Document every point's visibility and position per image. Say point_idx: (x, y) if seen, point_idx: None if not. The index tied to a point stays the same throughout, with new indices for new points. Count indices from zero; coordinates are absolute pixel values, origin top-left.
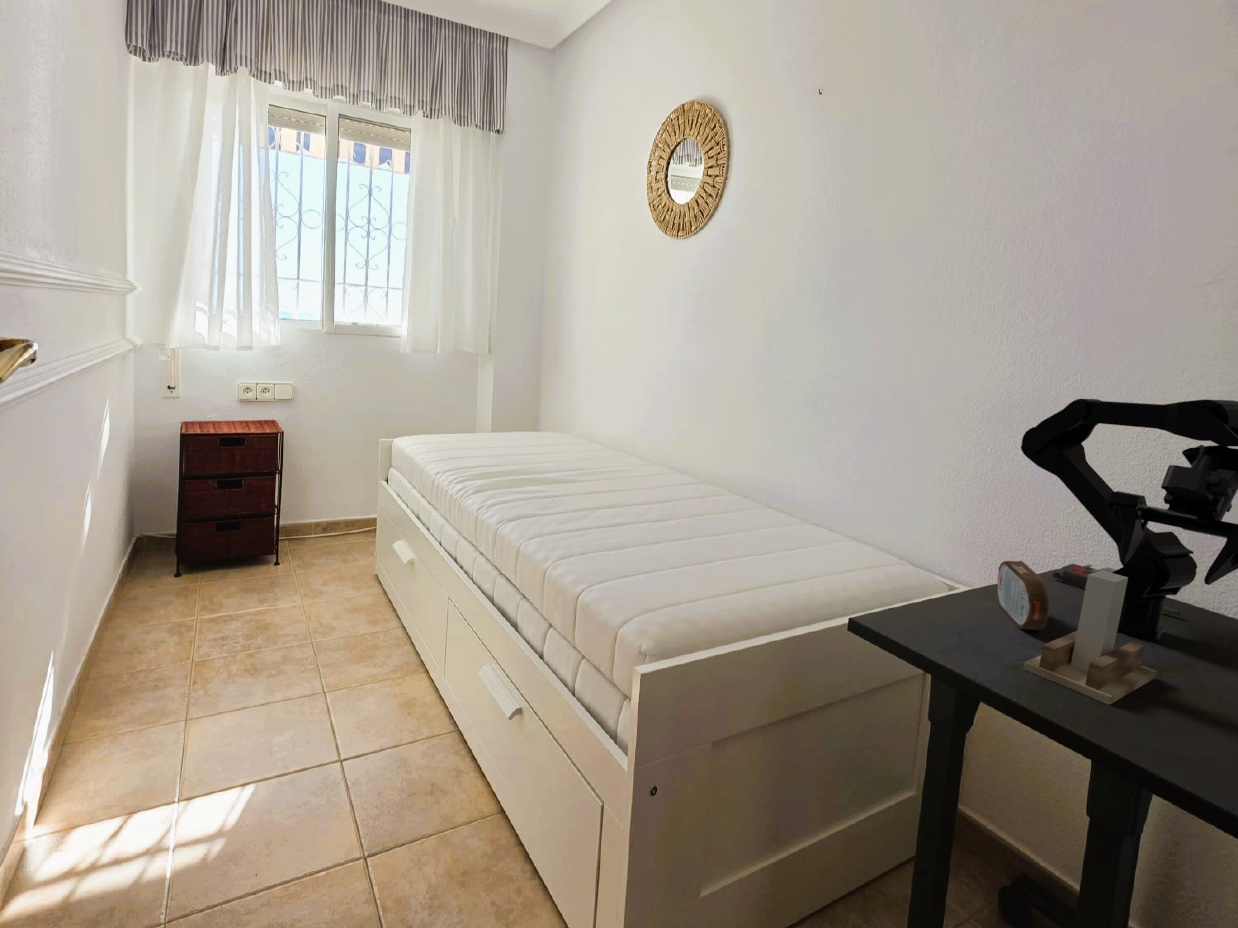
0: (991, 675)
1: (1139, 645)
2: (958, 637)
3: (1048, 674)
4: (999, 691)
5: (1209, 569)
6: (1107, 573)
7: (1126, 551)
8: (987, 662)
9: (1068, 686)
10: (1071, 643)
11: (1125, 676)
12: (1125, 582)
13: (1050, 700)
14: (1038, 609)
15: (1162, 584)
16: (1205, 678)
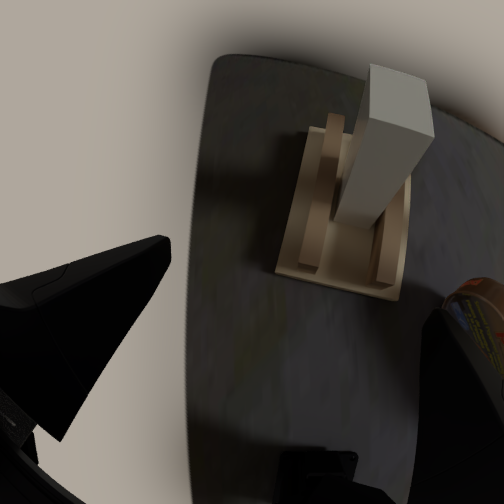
0: None
1: (306, 254)
2: (485, 201)
3: None
4: None
5: (141, 252)
6: (412, 115)
7: (451, 329)
8: (435, 148)
9: None
10: None
11: (309, 206)
12: (367, 117)
13: (355, 103)
14: (467, 283)
15: (289, 500)
16: (211, 341)
